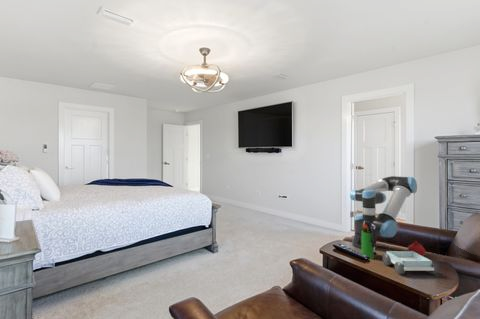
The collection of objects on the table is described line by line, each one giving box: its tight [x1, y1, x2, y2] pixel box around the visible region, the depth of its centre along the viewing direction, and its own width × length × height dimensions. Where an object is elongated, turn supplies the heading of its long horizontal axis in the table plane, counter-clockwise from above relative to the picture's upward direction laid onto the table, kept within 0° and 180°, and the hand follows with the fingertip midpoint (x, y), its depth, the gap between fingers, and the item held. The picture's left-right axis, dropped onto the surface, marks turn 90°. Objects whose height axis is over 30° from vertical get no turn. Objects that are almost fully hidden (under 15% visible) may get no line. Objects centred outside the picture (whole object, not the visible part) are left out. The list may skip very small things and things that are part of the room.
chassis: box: [382, 250, 438, 275], centre depth 145 cm, size 18×19×8 cm
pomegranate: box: [407, 240, 426, 257], centre depth 167 cm, size 10×10×9 cm
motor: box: [360, 224, 378, 260], centre depth 165 cm, size 10×9×20 cm
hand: (369, 249), depth 164 cm, fingers closed on motor, 7 cm apart
